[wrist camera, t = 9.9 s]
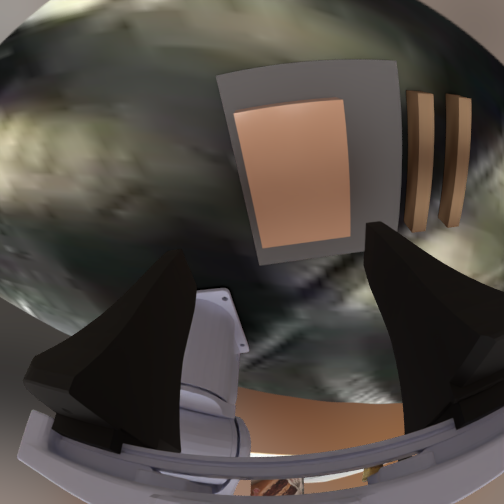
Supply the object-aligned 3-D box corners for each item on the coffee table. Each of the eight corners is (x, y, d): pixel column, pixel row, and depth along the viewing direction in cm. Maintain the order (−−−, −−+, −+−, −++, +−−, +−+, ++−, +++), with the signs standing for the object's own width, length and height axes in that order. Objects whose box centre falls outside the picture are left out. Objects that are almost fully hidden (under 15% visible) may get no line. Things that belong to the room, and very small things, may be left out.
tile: (350, 236, 18) (262, 248, 19) (345, 224, 19) (262, 236, 20) (343, 99, 13) (233, 113, 14) (336, 97, 14) (235, 110, 15)
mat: (393, 243, 20) (395, 246, 20) (259, 262, 22) (259, 265, 22) (393, 60, 12) (396, 60, 12) (216, 75, 14) (216, 75, 14)
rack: (449, 215, 19) (458, 226, 17) (403, 221, 19) (412, 232, 18) (457, 95, 13) (470, 98, 12) (406, 90, 13) (417, 93, 12)
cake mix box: (301, 471, 88) (302, 530, 64) (303, 472, 91) (304, 529, 67) (251, 473, 92) (249, 530, 68) (255, 475, 96) (253, 529, 72)
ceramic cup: (355, 462, 82) (357, 482, 74) (373, 455, 77) (376, 477, 69) (375, 460, 85) (377, 479, 77) (392, 453, 80) (395, 473, 72)
